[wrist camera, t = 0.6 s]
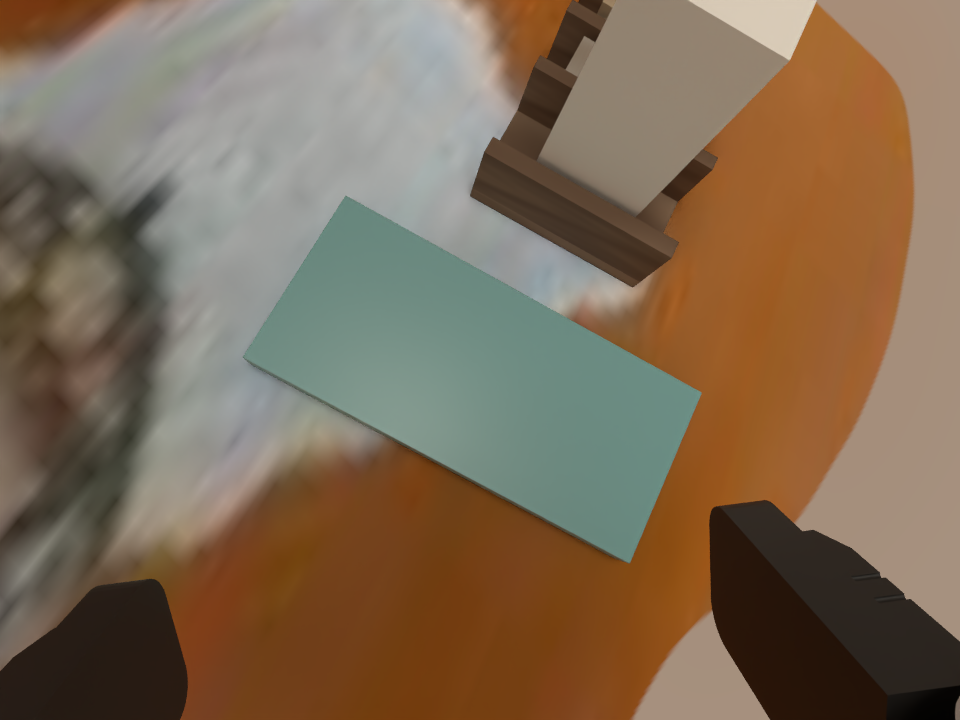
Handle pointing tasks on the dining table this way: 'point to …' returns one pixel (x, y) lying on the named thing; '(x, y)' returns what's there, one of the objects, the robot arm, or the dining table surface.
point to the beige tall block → (666, 89)
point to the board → (477, 378)
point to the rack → (560, 202)
